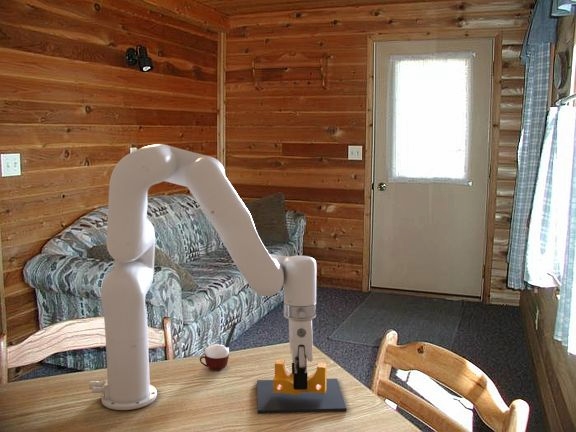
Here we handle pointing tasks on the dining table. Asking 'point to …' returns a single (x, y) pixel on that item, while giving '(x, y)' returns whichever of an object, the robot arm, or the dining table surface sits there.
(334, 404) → the mat
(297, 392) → the pipe clamp
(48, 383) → the dining table surface
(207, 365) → the cocoa
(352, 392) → the dining table surface
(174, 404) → the dining table surface
